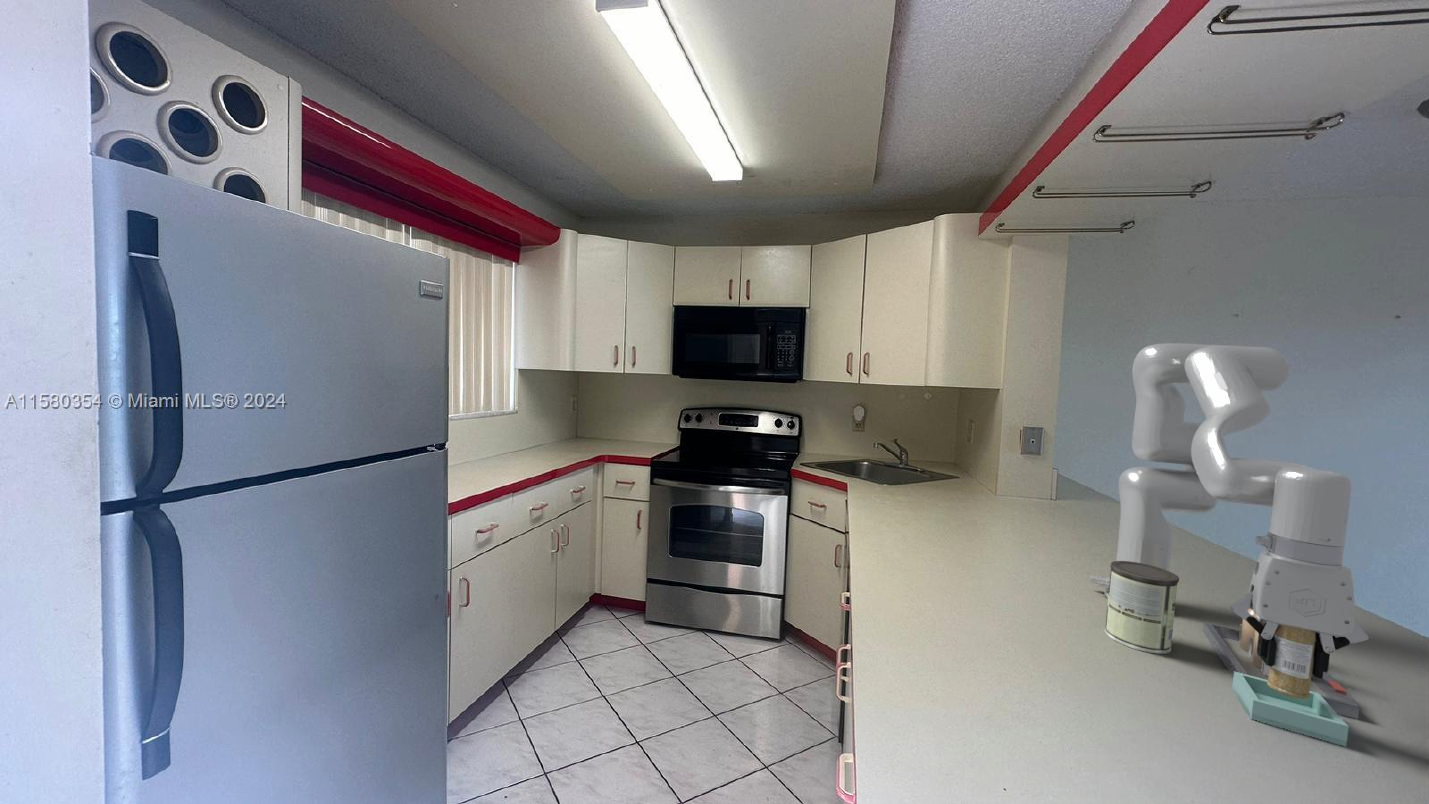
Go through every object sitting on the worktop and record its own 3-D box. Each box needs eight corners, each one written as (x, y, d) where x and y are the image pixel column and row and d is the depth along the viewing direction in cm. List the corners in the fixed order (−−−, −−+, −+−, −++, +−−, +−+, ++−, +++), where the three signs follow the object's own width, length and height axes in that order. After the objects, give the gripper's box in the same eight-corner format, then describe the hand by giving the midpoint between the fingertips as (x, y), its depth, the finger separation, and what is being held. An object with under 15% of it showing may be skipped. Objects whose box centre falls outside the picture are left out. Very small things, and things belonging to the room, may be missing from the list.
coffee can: (1098, 622, 109) (1104, 556, 108) (1160, 635, 104) (1167, 567, 104) (1111, 645, 99) (1118, 572, 99) (1180, 660, 95) (1188, 584, 94)
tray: (1251, 719, 78) (1253, 700, 78) (1232, 688, 87) (1234, 671, 86) (1346, 747, 73) (1348, 726, 73) (1316, 711, 81) (1318, 693, 81)
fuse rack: (1239, 687, 87) (1241, 667, 87) (1202, 631, 108) (1204, 614, 108) (1357, 719, 80) (1360, 697, 80) (1294, 652, 101) (1296, 634, 100)
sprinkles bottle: (1312, 695, 79) (1323, 608, 78) (1306, 704, 76) (1317, 614, 76) (1269, 679, 83) (1278, 597, 82) (1262, 687, 80) (1272, 602, 80)
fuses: (1255, 667, 94) (1260, 619, 93) (1236, 642, 103) (1241, 598, 103) (1288, 676, 92) (1294, 626, 91) (1265, 649, 101) (1271, 604, 101)
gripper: (1234, 544, 80) (1221, 659, 81) (1405, 572, 71) (1388, 701, 72) (1221, 533, 86) (1209, 640, 87) (1376, 557, 77) (1361, 677, 78)
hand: (1290, 667), depth 79 cm, fingers closed on sprinkles bottle, 4 cm apart
